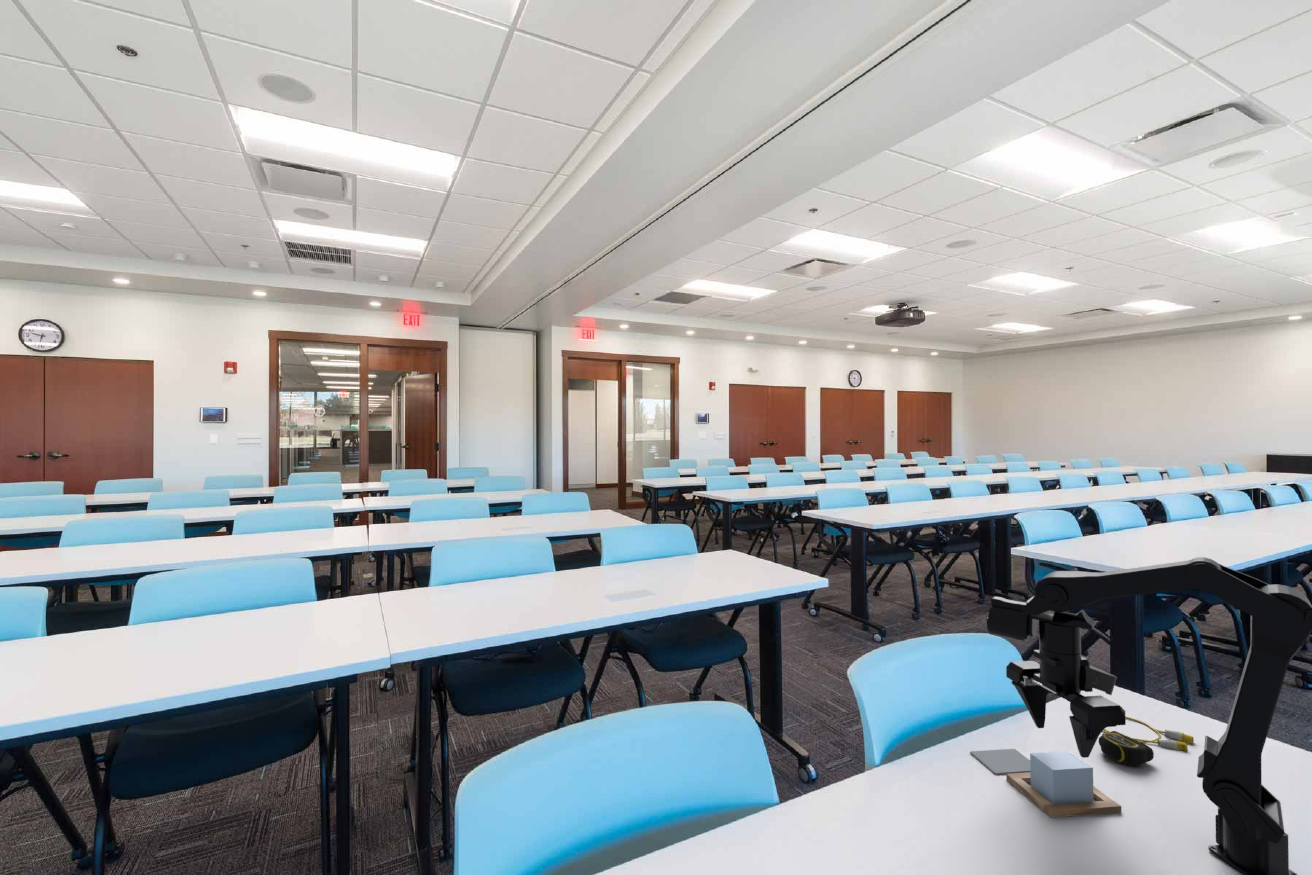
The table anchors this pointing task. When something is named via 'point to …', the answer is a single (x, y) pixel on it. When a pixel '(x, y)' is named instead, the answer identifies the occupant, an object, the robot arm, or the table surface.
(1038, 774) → the part block
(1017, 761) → the pad
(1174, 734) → the extension cord
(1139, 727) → the table surface
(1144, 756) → the tape measure
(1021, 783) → the frame
